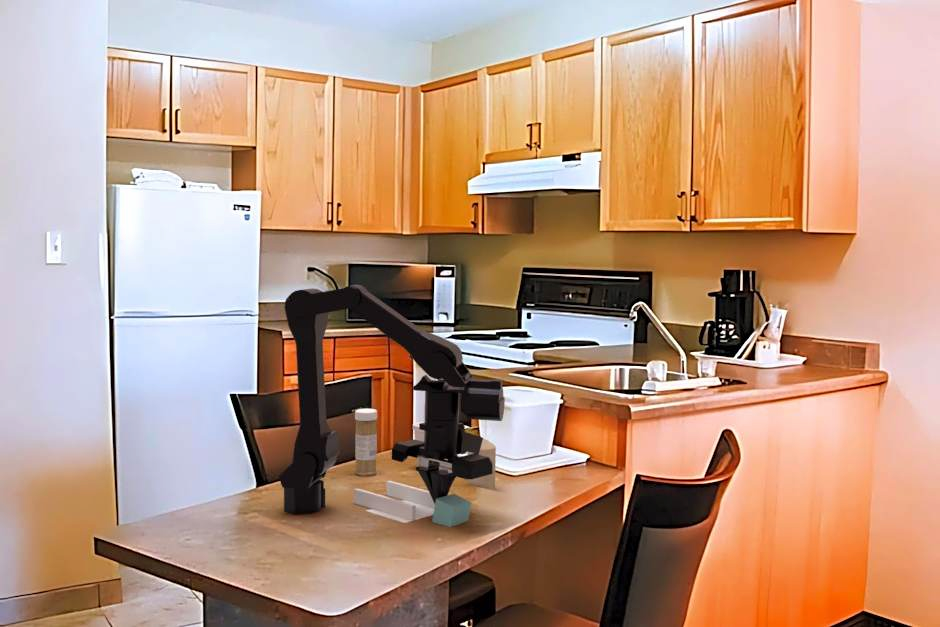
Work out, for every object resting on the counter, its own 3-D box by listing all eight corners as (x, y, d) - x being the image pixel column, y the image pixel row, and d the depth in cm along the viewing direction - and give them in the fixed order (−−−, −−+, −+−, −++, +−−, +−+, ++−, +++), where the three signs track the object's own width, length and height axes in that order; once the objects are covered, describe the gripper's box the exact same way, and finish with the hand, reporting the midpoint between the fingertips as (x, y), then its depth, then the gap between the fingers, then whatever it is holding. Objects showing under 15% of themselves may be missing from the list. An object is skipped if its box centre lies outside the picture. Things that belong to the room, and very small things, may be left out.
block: (431, 526, 153) (448, 536, 150) (436, 498, 152) (453, 508, 149) (449, 520, 156) (466, 530, 154) (454, 493, 155) (471, 502, 153)
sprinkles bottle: (369, 470, 193) (369, 407, 192) (381, 474, 190) (381, 410, 189) (350, 473, 190) (350, 409, 190) (362, 477, 187) (362, 412, 186)
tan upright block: (499, 491, 178) (500, 441, 177) (473, 494, 176) (473, 442, 175) (488, 484, 183) (489, 435, 182) (462, 487, 181) (463, 437, 180)
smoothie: (408, 466, 197) (409, 402, 196) (437, 464, 199) (438, 401, 198) (416, 473, 191) (416, 407, 190) (445, 471, 193) (446, 406, 192)
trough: (404, 531, 152) (404, 508, 152) (346, 513, 162) (346, 490, 162) (454, 516, 161) (454, 494, 160) (396, 500, 171) (396, 478, 170)
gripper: (515, 419, 153) (512, 511, 154) (435, 403, 165) (433, 488, 167) (470, 428, 145) (468, 525, 146) (390, 411, 157) (388, 500, 158)
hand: (439, 508), depth 154 cm, fingers closed
